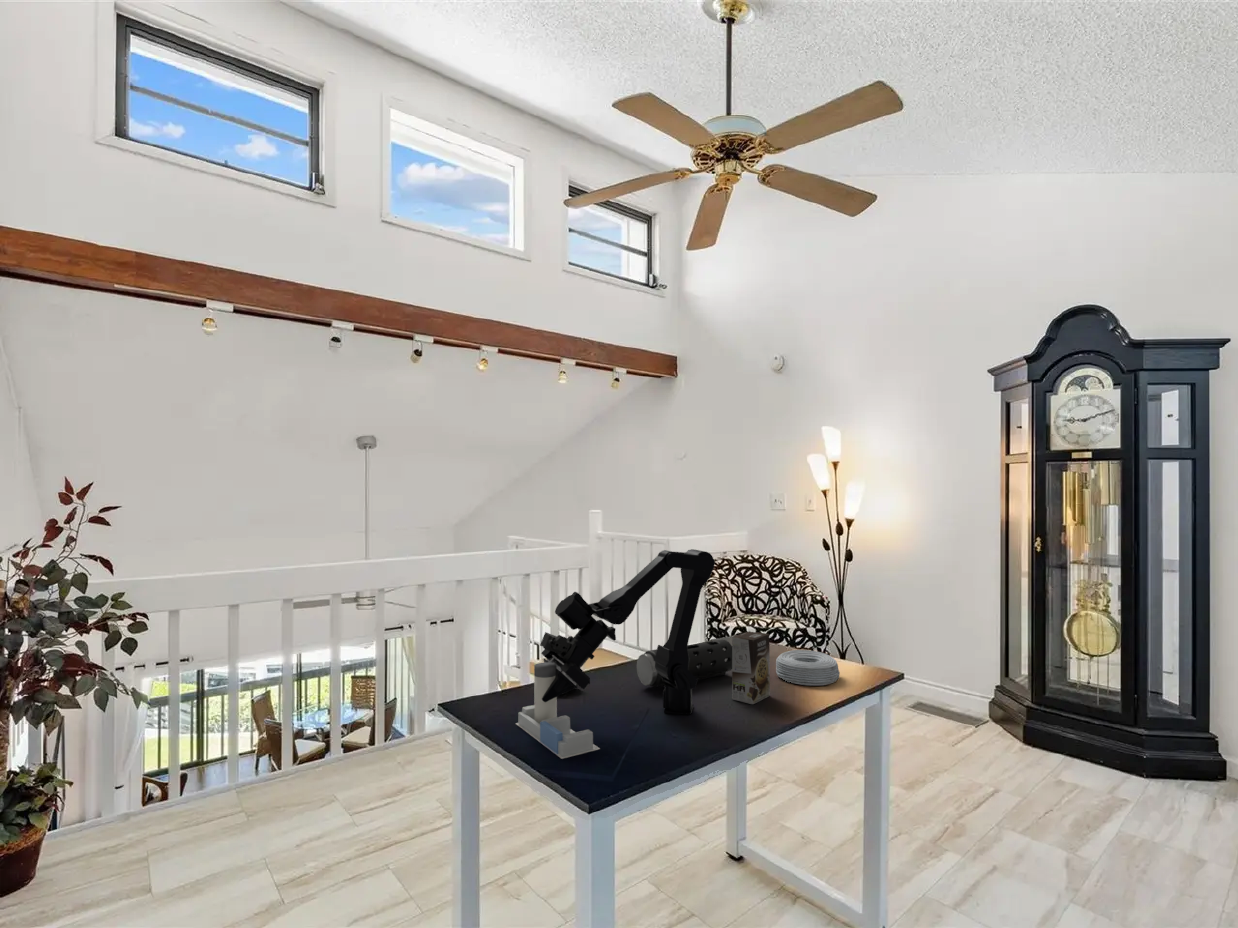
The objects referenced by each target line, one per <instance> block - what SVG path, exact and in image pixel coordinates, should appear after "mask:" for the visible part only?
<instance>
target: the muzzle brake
mask: <svg viewBox="0 0 1238 928" xmlns="http://www.w3.org/2000/svg"><path fill="white" fill-rule="evenodd" d="M687 648H688V654H689V667H688V671H689V672H690V673H692V674H693V675H694V676H695V677H696V678H697V680H704V679H709V678H715V677H720V676H724V675H726V673H727V672H730V671H731V672H732V643H730V642H729V641H728V640H727V639H717V640H712V641H705V642H700V643H699V642H698V643H695V644H694V643H693V644H687ZM656 653H657V648H655V649H652V650H647V651H645V652H644V653H642V654H640V655H639V656H638V657H637V660H636V672H637V676H638V679H639V681H640V683H642V685H644V686H646V687H647V686H650V687H653V688H657V687H661V686H662V687H663V686H664V688H665V685H666V682H665V681H663V680H662V678H661V675H659V674H658V673H657V671H656V669H655V661H653V660H654V658H655V656H656Z"/></svg>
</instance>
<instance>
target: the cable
mask: <svg viewBox="0 0 1238 928" xmlns="http://www.w3.org/2000/svg"><path fill="white" fill-rule="evenodd" d="M775 673H776V676H777V677H778V678H780V679H781V678H782V679H783V680H785V681H784V682H786V681H787V682H786V683H790V682H791V683H790V684H796V685H802V686H811V687H812V686H814V687H815V686H818V687H819V686H827V685H830V684H831V685H832V684H833V683H835V682H837V681H838V680H839V678H840V675H841V673H840V670H839V664H838V662H837V660H836V659H835V658H833V657H832V656H831V655H829V654H827V653H824V652H821V651H815V650H809V649H793V650H792V649H791V650H789V651H784V652H782V653H781V654H779V655H778V657H776V660H775ZM782 679H781V680H782ZM783 680H782V681H783Z"/></svg>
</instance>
